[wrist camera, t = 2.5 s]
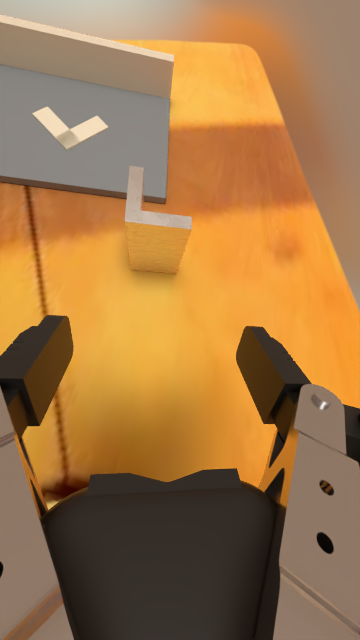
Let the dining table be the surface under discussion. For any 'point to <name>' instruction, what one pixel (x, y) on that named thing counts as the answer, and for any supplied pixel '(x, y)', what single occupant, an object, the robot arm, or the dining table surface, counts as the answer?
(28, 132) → the arena
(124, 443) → the dining table surface
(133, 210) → the bracket
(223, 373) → the dining table surface
